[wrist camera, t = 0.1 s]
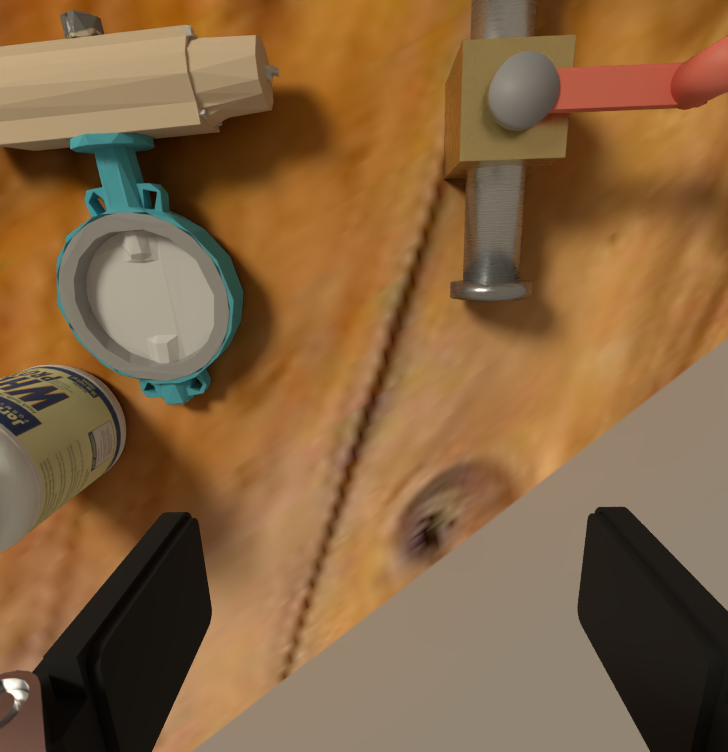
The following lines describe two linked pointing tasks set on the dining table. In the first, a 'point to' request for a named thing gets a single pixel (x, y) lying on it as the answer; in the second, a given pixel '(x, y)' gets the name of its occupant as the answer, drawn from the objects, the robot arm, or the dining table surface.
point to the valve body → (497, 147)
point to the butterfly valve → (137, 187)
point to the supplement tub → (52, 443)
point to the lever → (602, 86)
